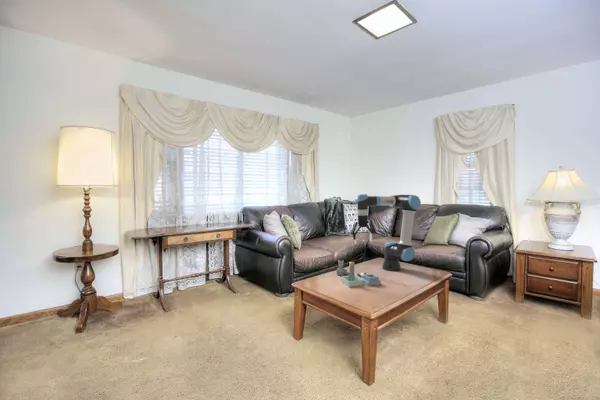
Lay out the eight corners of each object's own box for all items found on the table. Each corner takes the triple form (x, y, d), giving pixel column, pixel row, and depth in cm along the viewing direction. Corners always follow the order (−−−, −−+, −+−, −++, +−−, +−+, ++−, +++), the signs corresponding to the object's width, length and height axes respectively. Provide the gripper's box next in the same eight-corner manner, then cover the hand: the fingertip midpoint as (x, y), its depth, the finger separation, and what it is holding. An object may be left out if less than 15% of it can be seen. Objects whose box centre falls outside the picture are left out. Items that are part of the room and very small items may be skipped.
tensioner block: (355, 278, 225) (355, 271, 225) (367, 277, 229) (367, 270, 229) (367, 285, 209) (367, 278, 209) (380, 284, 213) (380, 276, 213)
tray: (354, 280, 222) (354, 275, 222) (362, 285, 211) (362, 279, 211) (341, 281, 218) (341, 277, 218) (348, 287, 207) (348, 281, 207)
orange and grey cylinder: (352, 281, 217) (352, 261, 216) (355, 282, 214) (355, 262, 213) (348, 281, 216) (348, 262, 215) (350, 283, 212) (350, 263, 212)
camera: (342, 258, 240) (355, 263, 228) (341, 272, 241) (355, 277, 229) (334, 260, 235) (347, 264, 223) (334, 274, 236) (347, 279, 224)
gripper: (374, 213, 226) (374, 240, 227) (345, 215, 218) (346, 243, 219) (379, 214, 219) (380, 241, 220) (350, 216, 211) (351, 245, 212)
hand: (363, 242), depth 220 cm, fingers open, 13 cm apart
